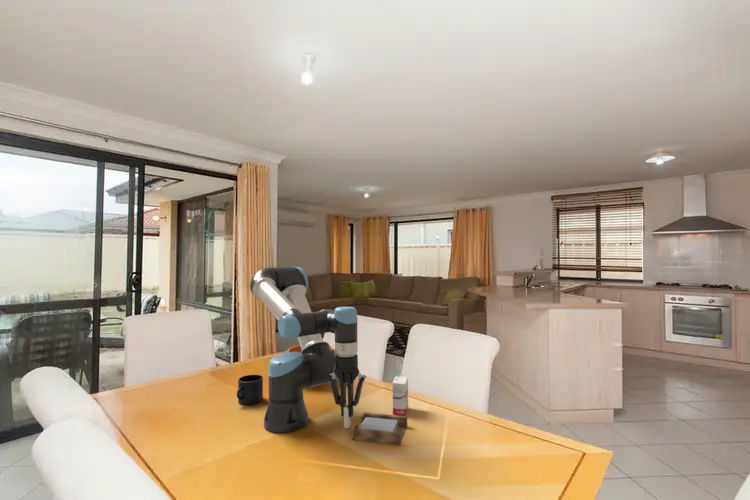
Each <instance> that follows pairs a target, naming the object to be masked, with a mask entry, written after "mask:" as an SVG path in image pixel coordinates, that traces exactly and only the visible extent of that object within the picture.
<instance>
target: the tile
mask: <svg viewBox="0 0 750 500" xmlns="http://www.w3.org/2000/svg"><path fill="white" fill-rule="evenodd" d="M358 428H361V429H370V430H380V431H389V432H396V431H397V429H398V420H392V419H382V418H371V417H365V419H364V421H363V422H362V424H361V423H360V425H359V426H358Z"/></svg>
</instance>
